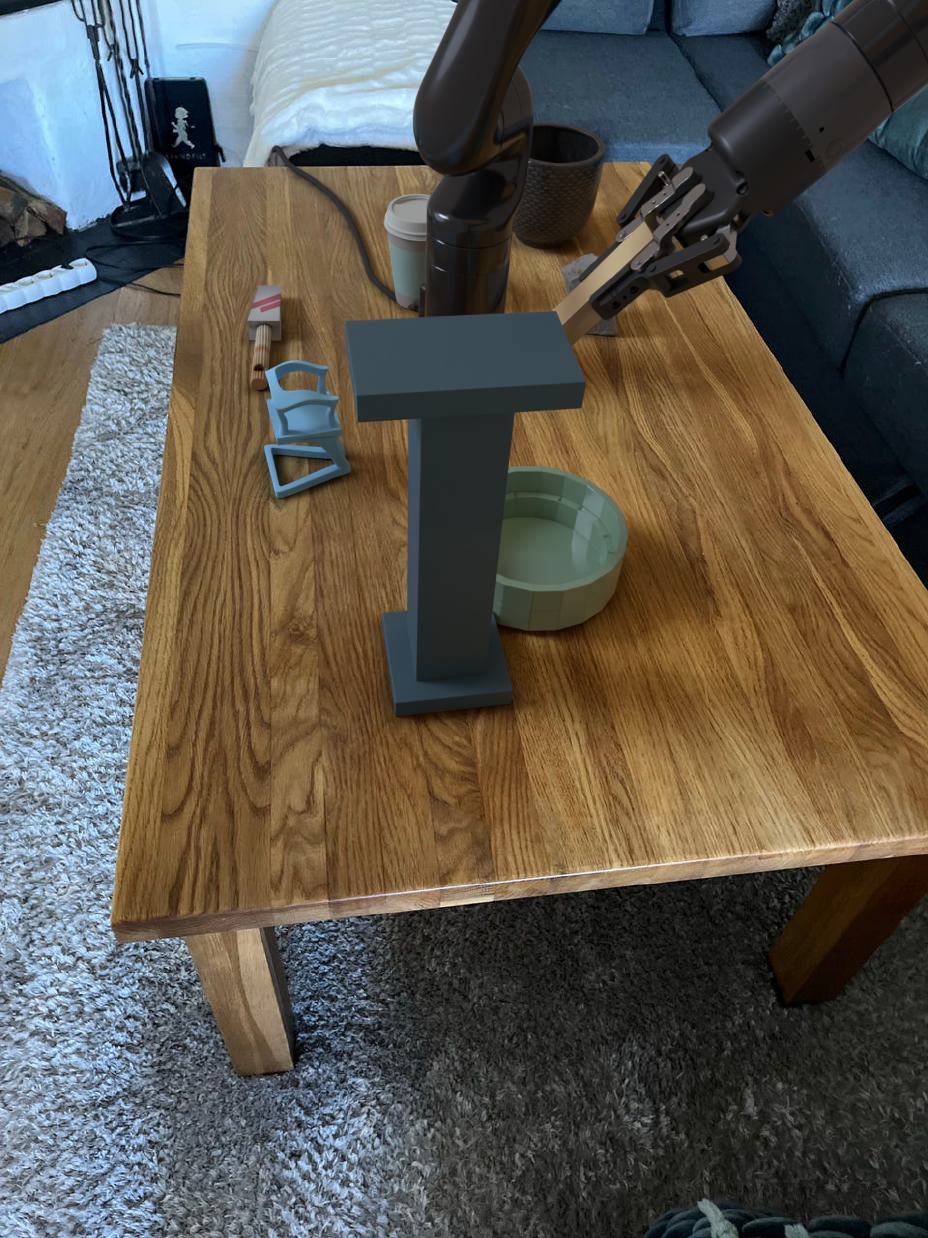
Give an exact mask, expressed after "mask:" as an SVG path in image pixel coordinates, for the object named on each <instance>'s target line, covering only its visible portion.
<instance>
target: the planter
mask: <svg viewBox="0 0 928 1238" xmlns="http://www.w3.org/2000/svg"><path fill="white" fill-rule="evenodd" d="M605 158H606V145H605V143H604V141H603V140H602V139H601V137H599V136H598V135H597V134H595V133H594V132H592V131H590V130H588V129H585V128H583V127H580V126H577V125H574V124H569V123H564V122H557V121H556V122H554V121H533V133H532V141H531V149H530V156H529V163H528V170H527V177H526V184H525V190H524V195H523V199H522V202H521V204H520V207H519V209H518V211H517V213H516V215H515V218H514V223H513V231H512V233H514V235H515V237H516V238H517V240H518V241H519V242H521V243H522V244H524V245H525V246H528V247H530V248H535V249H540V250H553V249H555V250H556V249H559V248H562V247H565V246H566V245H567V244H568V243H570V242H571V240H572V239H574V238H575V237H578V235H580V234H581V233H582V232H583V230H584V229H585V228H586V227H587V225H588V223H589V221H590V219H591V217H592V214H593V210H594V208H595V204H596V201H597V197H598V192H599V189H600V183H601V179H602V174H603V169H604V164H605Z"/></svg>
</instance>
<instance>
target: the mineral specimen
mask: <svg viewBox="0 0 928 1238" xmlns="http://www.w3.org/2000/svg"><path fill="white" fill-rule="evenodd" d="M597 258H598V257H597V255H595V254H594V252H590V253H588V254H584V255H581V256H579V257H578V258H577V259H575V260H573V261H572V262H571V263H569V264H567V265H564V266H563V267H561V268H560V272H561V273H562V276H563V281H564V284H565V288H566V295H567V296H568V295H569V294H570V293H571V292H572V291H573V290H574V289H575V288H576V287H577V286H578V285H579V284H580V281H579V276H580V274H581V273H582V272H584V271H585V270H586V269H587V268H588V266H589V265H591V264H592V263H593V262H594V261H596V259H597ZM586 334H588V335H599V336H616V335H618V326H617V315H615V316H613V317H612V318H610V319H608V320H604V319H601V320H599V321H598V322H597V323H596V324H595V325H594V326H593V327H592V328H591V329H590V330H589V331H588V332H587V333H586Z"/></svg>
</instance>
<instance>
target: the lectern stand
mask: <svg viewBox="0 0 928 1238" xmlns="http://www.w3.org/2000/svg"><path fill="white" fill-rule="evenodd" d="M344 332H345V333H344V335H345V350H346V355H347V361H348V368H349V375H350V383H351V387H352V388H351V389H352V395H353V402H354V407H355V408H354V409H355V415H356V420H357V423H359V424H360V423H375V422H390V421H392V422H393V421H405V420H407V542H406V543H407V545H406V546H407V547H406V548H407V549H406V551H407V556H406V557H407V559H406V561H407V562H406V564H407V565H406V566H407V567H406V591H407V592H406V610H399V611H389V612H382V613H381V628H382V629H381V630H382V634H383V635H382V636H383V643H384V649H385V655H386V661H387V668H388V669H387V670H388V676H389V682H390V689H391V696H392V703H393V710H394V716H395V717H404V716H413V715H423V714H429V713H430V714H431V713H441V712H446V711H447V712H448V711H449V712H450V711H456V710H457V711H458V710H467V709H476V708H484V707H495V706H503V705H511V704H512V699H513V693H514V689H513V683H512V680H511V676H510V671H509V668H508V664H507V660H506V656H505V652H504V648H503V644H502V640H501V636H500V631H499V628H498V623H496V620H495V616H494V612H493V603H494V594H495V585H496V576H497V567H498V558H499V549H500V541H501V532H502V523H503V514H504V505H505V496H506V487H507V478H508V469H509V467H510V460H511V452H512V451H511V450H512V441H513V433H514V432H513V431H514V425H515V424H514V422H515V414H516V413H530V412H532V413H533V412H545V411H546V412H547V411H563V410H564V411H565V410H578V409H582V408H583V402H584V397H585V391H586V386H587V381H586V377H584V373H583V371H582V369H581V366H580V364H579V361H578V359H577V356H576V355H575V352H574V349H573V348H572V347H573V346H572V347H571V345H570V342H569V340H568V338H567V335H566V333H565V331H564V328H563V326H562V324H561V321H560V319H559V316H558V314H557V312H556V311H553V310H547V311H546V310H545V311H525V312H522V311H521V312H505V313H501V314H480V315H460V316H439V317H418V316H417V317H400V318H397V317H396V318H380V319H379V318H378V319H377V318H376V319H357V320H345V321H344Z"/></svg>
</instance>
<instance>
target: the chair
mask: <svg viewBox="0 0 928 1238" xmlns="http://www.w3.org/2000/svg"><path fill="white" fill-rule="evenodd" d="M329 369H330V368H329V366H328V365H320V364H315V363H312V362H309V361H306V360H301V359H290V360H287V361H284V362H282V363H280V364H278V365H276V366H274V367H271V368H270V369H268V371H266V372H265V374H266V377H267V384H268V385H269V390H270V391H269V392H270V395H271V396H270V397H271V398H267V399H266V405H267V409H268V413H269V418H270V422H271V425H272V429H273V433H274V437H275V440H276V441H275V442H276V443H273V444H272V443H270V444H266V445H264V447H263V450H264V454H265V457H266V462H267V466H268V470H269V474H270V478H271V483H272V486H273V490H274V494H275V497H276V498H277V499H283V498H286V497H289V496H293V495H295V494H296V493H300V492H303V491H304V490H307V489H309V488H313V487H315V486H318V485H319V484H322V483H324V482H326V481H329V480H331V479H334V478H337V477H341V476H344V475H347V474H349V473H351V471H352V469H351V465H350V462H349V461H348V459H347V458H346V456H347V454H346V449H345V447H344V445H343V443H342V441H341V440H340V437H343V428H342V425H341V422H340V418H339V416H338V414H337V410H336V409H337V405H338V402H339V400H340V397H339V396H337V395H332V394H331V392H330V391H329V390H328V391H327V390H326V378H327V374H328V371H329ZM294 372H295V373H296V372H304V373H309V374H312V375H316V376H318V381H317V391H314V390H310V389H309V390H308V389H295V390H284V389H283V388H282V387H281V385H280V383H279V380H280V379H282V378H283V377H284V376H286V375H289V374H291V373H294ZM295 443H297V444H295ZM298 444H312V445H315V446H310V445H298ZM273 455H279V456H290V457H291V456H292V457H299V458H300V457H301V458H312V459H325V460H331V461H332V462H333V463H334V464H332V465H329V466H327V467H325V468H322V469H320V470H317V471H315V472H312V473H310V474H308V475H305V476H303V477H301V478H299V479H296V480H294V481H292V482H289V483H287V484H285V485H280V481H279V478H278V473H277V468H276V464H275V460H274V456H273Z"/></svg>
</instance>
